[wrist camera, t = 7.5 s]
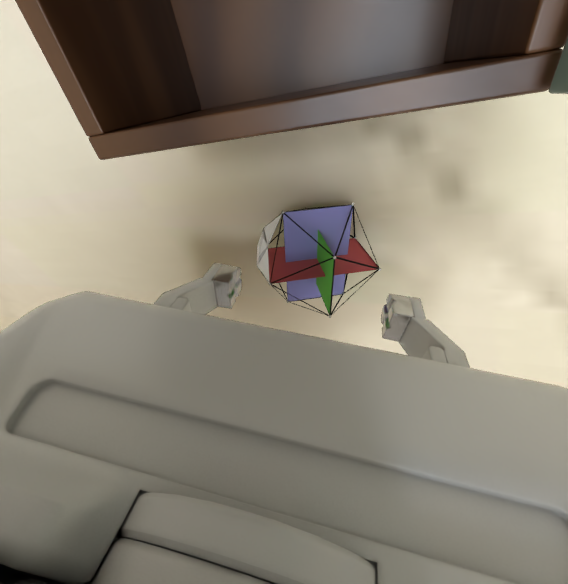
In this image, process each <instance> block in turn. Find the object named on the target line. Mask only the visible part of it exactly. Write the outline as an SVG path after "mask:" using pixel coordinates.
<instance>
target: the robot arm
mask: <svg viewBox="0 0 568 584" xmlns="http://www.w3.org/2000/svg"><path fill="white" fill-rule="evenodd" d="M240 275H241V269H240V268H239V267H234V266H229V265H223V264H218V263H214V264H213V265H212V266H211V267H210V269H209V270H208V271H207V273H206V274H205V275H204V277H203V278H202V279H201V278H199V279H197V280H194V281H192V282H189V283H187V284H184V285H182V286H180V287H177V288H175V289H172V290H170V291H167V292H165V293H163V294H162V295H161V296H160V297H159V298H158V299H157V301H156V302H155V303H154V304H149V303H144V302H139V301H134V300H129V299H124V298H119V297H114V296H109V295H105V294H100V293H96V292H88V291H85V292H80V293H76V294H72V295H68V296H65V297H62V298H59V299H56V300H52V301H49V302H47V303H44V304H42V305H40V306H39V307H37V308H35V309H34V310H32V311H30V312H29V313H27V314H26V315H24V316H23V317H21V318H20V319H18V320H17V321H15V322H14V323H12V324H11V325H9V326H8V327H6V328H5V329H3V330H2V331H1V332H0V584H568V389H567V388H564V387H561V386H557V385H552V384H547V383H542V382H537V381H532V380H527V379H522V378H517V377H512V376H507V375H502V374H497V373H492V372H487V371H482V370H477V369H472V368H470V366H469V363H468V361H467V358H466V355H465V353H464V351H463V350H462V349H460V348H459V347H458V346H457V345H456V344H455V343H454V342H453V341H452V340H451V339H449V338H448V337H447V336H446V335H445V334H444V333H443V332H442V331H441V330H439V329H438V328H437V327H436V326H435V325H434V324H433V323H432V322H431V321H429V320H426V317H425V314H424V310H423V306H422V303H421V299H420V298H416V297H407V296H401V295H395V294H389V295H388V297H387V299H386V301H387V304H386V305H384V307H383V309H382V314H381V323H382V324H383V327H382V338H384V339H389V340H394V341H398V342H399V343H400V345H401V346H402V347H403V349H404V350H405V351H406V353H407V354H408V355H403V354H398V353H393V352H388V351H383V350H378V349H373V348H368V347H363V346H358V345H353V344H348V343H343V342H338V341H333V340H328V339H323V338H318V337H313V336H308V335H303V334H298V333H293V332H288V331H283V330H278V329H273V328H268V327H263V326H258V325H253V324H248V323H243V322H239V321H234V320H229V319H224V318H219V317H214V316H209V315H206V314H207V313H209V312H210V311H212V310H213V309H215V308H216V307H217V306H219V307H225V308H231V309H232V307H233V305H234V303H235V301H236V298H235V297H237V296H239V294H240V292H241V288H242V280H241V279H240Z"/></svg>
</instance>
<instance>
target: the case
mask: <svg viewBox="0 0 568 584" xmlns="http://www.w3.org/2000/svg"><path fill="white" fill-rule="evenodd" d="M15 1H16V3H17V5H18V7H19V8H20V10H21V12H22V14H23V16H24V18H25V20H26V22H27V24H28V25H29V27H30V29H31V31H32V33H33V35H34V37H35V39H36V41H37V42H38V44H39V46H40V48H41V50H42V52H43V54H44V56H45V58H46V60H47V61H48V63H49V65H50V67H51V69H52V71H53V73H54V75H55V77H56V78H57V80H58V82H59V84H60V86H61V88H62V90H63V92H64V94H65V96H66V97H67V99H68V101H69V103H70V105H71V107H72V109H73V111H74V113H75V114H76V116H77V118H78V120H79V122H80V124H81V126H82V128H83V130H84V131H85V133H86V135H87V136H89V141H90V142H91V144H92V146H93V148H94V150H95V152H96V154H97V156H98V158H99V159H101V160H105V159H111V158H117V157H124V156H130V155H137V154H143V153H150V152H156V151H163V150H169V149H176V148H182V147H188V146H195V145H201V144H208V143H214V142H221V141H227V140H234V139H240V138H247V137H253V136H259V135H266V134H272V133H279V132H285V131H292V130H298V129H305V128H311V127H317V126H324V125H330V124H337V123H343V122H350V121H356V120H363V119H369V118H376V117H382V116H388V115H395V114H401V113H408V112H414V111H421V110H427V109H434V108H440V107H446V106H453V105H459V104H466V103H472V102H479V101H485V100H492V99H498V98H505V97H511V96H517V95H524V94H530V93H537V92H543V91H546V90H548V89H549V88H550V86H551V83H552V80H553V77H554V74H555V71H556V69H557V66H558V63H559V60H560V57H561V54H562V52H563V49H559V48H561V47H563V46H564V45H565V43H566V40H567V37H568V0H15Z"/></svg>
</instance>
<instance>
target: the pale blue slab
mask: <svg viewBox="0 0 568 584" xmlns="http://www.w3.org/2000/svg"><path fill="white" fill-rule="evenodd" d="M549 92H550V93H556V94H568V37H567V40H566V43H565V46H564V49H563V52H562V54H561V57H560V60H559V63H558V66H557V69H556V71H555V74H554V77H553V80H552V83H551V86H550V88H549Z"/></svg>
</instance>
